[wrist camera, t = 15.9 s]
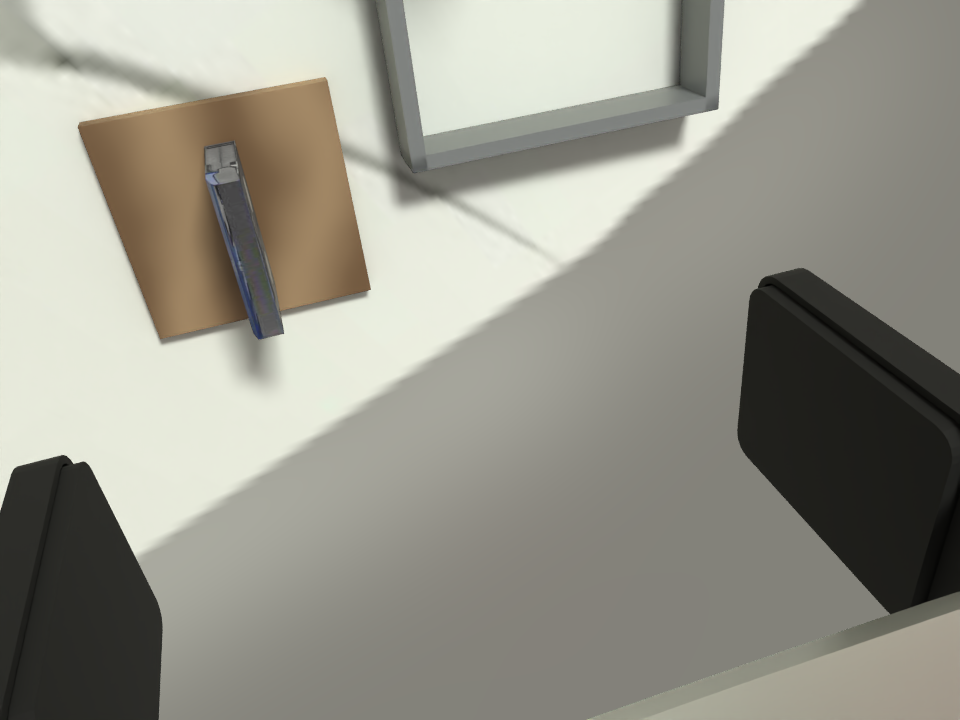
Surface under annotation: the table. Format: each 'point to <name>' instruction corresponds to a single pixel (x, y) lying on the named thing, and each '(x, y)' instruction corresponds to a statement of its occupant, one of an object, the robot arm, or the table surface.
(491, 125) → the bin
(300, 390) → the table surface
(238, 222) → the mini dv tape
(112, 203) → the pad
